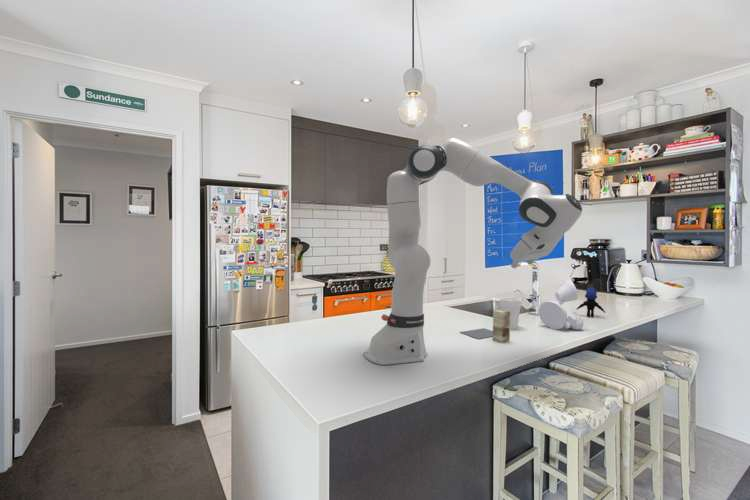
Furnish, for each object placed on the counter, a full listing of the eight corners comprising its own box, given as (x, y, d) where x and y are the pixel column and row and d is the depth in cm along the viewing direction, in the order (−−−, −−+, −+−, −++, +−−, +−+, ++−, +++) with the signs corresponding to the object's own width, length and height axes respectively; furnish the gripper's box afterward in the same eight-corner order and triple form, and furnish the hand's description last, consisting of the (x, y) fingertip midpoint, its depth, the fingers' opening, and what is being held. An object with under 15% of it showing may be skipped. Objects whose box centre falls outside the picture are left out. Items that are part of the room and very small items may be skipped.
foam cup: (522, 331, 164) (523, 301, 163) (500, 329, 166) (500, 300, 165) (518, 325, 173) (519, 297, 173) (497, 324, 175) (498, 296, 175)
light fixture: (607, 304, 162) (572, 275, 172) (589, 316, 153) (553, 285, 163) (575, 338, 178) (545, 310, 188) (556, 350, 170) (526, 320, 180)
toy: (605, 317, 192) (606, 288, 191) (605, 319, 187) (606, 289, 186) (576, 314, 199) (577, 285, 198) (575, 316, 194) (576, 287, 193)
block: (501, 343, 146) (502, 312, 145) (492, 340, 150) (493, 310, 150) (509, 341, 148) (510, 311, 148) (500, 338, 152) (501, 309, 152)
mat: (477, 339, 151) (477, 338, 151) (459, 332, 160) (459, 332, 160) (503, 335, 157) (503, 334, 157) (483, 328, 167) (483, 328, 167)
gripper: (554, 228, 136) (531, 255, 145) (520, 234, 125) (498, 262, 133) (567, 240, 133) (543, 267, 141) (533, 247, 121) (509, 275, 130)
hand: (521, 265), depth 137 cm, fingers open, 8 cm apart
